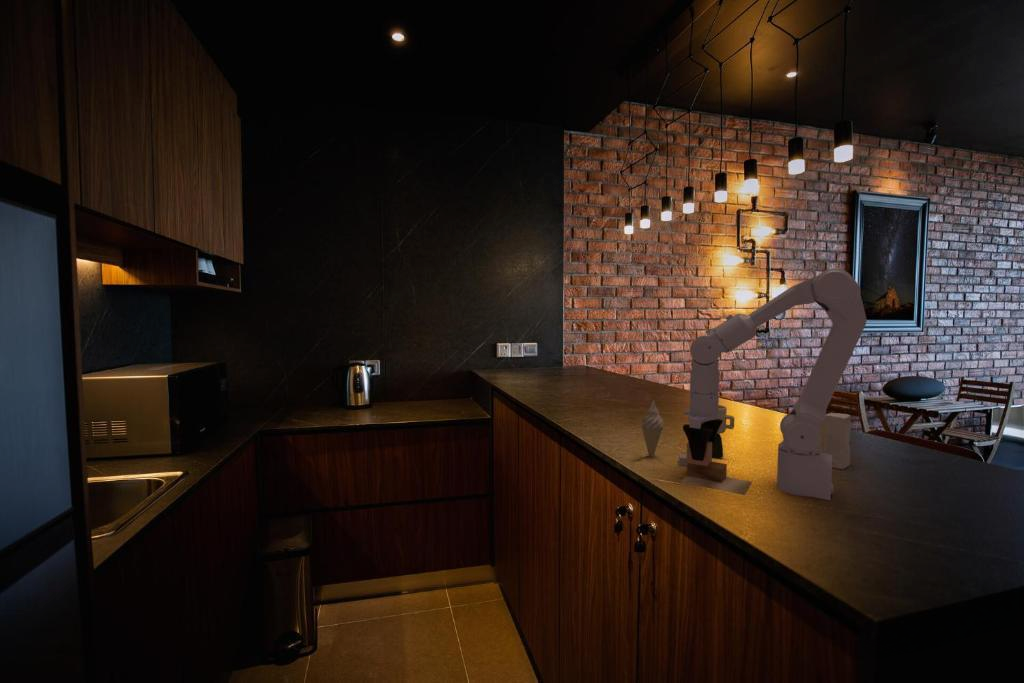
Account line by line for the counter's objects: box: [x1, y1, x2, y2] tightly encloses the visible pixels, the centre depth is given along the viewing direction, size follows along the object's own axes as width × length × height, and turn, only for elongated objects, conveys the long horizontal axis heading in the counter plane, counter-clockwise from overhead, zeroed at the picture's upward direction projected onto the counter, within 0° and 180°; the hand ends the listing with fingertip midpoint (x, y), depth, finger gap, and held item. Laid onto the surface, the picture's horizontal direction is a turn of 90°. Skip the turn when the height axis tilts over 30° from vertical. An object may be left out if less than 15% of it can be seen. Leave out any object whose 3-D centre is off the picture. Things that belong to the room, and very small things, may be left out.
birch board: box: [680, 475, 753, 496], centre depth 99 cm, size 12×9×1 cm
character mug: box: [687, 404, 735, 460], centre depth 120 cm, size 11×7×13 cm, turn 52°
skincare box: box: [823, 412, 852, 470], centre depth 115 cm, size 6×4×12 cm
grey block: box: [678, 453, 687, 468], centre depth 111 cm, size 4×4×3 cm
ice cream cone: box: [641, 399, 664, 458], centre depth 117 cm, size 5×5×15 cm
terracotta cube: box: [686, 442, 713, 466], centre depth 103 cm, size 4×4×4 cm
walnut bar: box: [686, 461, 728, 483], centre depth 102 cm, size 7×4×3 cm, turn 55°
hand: (702, 455), depth 103 cm, fingers open, 7 cm apart
